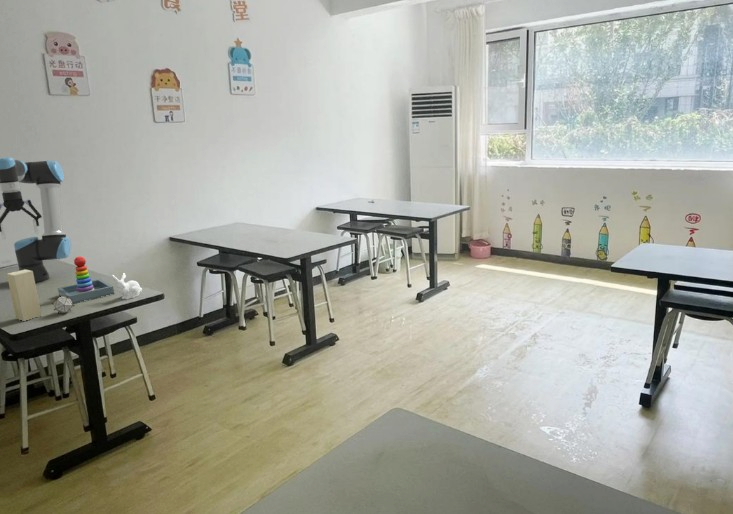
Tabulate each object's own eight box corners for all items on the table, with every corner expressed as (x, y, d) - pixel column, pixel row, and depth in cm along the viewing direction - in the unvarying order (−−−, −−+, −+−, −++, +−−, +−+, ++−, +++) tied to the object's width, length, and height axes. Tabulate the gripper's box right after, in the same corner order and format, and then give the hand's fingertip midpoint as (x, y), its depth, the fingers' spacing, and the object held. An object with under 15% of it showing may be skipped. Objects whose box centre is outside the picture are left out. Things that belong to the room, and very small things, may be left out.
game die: (63, 320, 247) (58, 300, 250) (80, 312, 247) (75, 292, 250) (50, 317, 239) (45, 296, 242) (67, 309, 239) (62, 288, 242)
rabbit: (124, 301, 257) (119, 277, 254) (112, 298, 262) (108, 274, 259) (146, 294, 267) (142, 270, 264) (134, 291, 272) (131, 268, 269)
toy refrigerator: (34, 313, 247) (24, 268, 241) (42, 316, 243) (32, 270, 237) (15, 319, 240) (5, 273, 235) (23, 322, 236) (13, 275, 231)
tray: (59, 295, 271) (57, 288, 270) (101, 286, 284) (100, 278, 283) (70, 304, 257) (68, 296, 256) (114, 294, 269) (113, 286, 268)
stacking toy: (98, 290, 273) (91, 254, 269) (88, 295, 266) (82, 258, 261) (83, 291, 274) (76, 254, 270) (73, 296, 267) (66, 259, 262)
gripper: (-20, 195, 244) (-9, 241, 250) (43, 188, 260) (51, 232, 266) (-22, 194, 250) (-12, 239, 255) (39, 187, 266) (47, 230, 271)
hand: (20, 235), depth 260 cm, fingers open, 13 cm apart
